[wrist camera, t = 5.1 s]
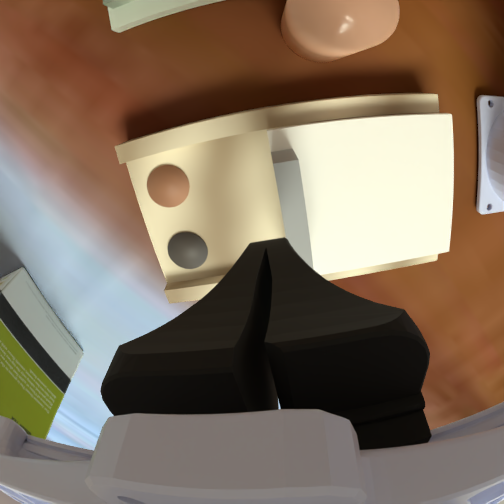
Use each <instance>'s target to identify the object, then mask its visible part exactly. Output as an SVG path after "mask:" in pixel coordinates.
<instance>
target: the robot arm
mask: <svg viewBox="0 0 504 504" xmlns="http://www.w3.org/2000/svg"><path fill="white" fill-rule="evenodd" d="M488 101H490V106H489V105H488ZM477 113H478V136H479V169H478V192H477V206H476V207H477V211H478V212H479V213H480V214H489V213H495V212H501V211H504V97H500V96H488V95H480V96H479V97H478V98H477ZM488 204H489V206H488V208H487V205H488ZM429 357H430V352H429V349H428V346H427V344H426V342H425V340H424V338H423V336H422V334H421V332H420V330H419V329H418V327H417V326H416V325H415V323H414V322H413V320H412V319H411V318H410V316H409V315H408V314H407V312H406V311H405V310H404V309H400V308H396V307H391V306H387V305H383V304H379V303H376V302H373V301H370V300H367V299H364V298H361V297H359V296H356V295H354V294H352V293H349V292H347V291H345V290H343V289H341V288H340V287H338V286H336V285H334V284H332V283H331V282H329V281H328V280H326V279H325V278H323V277H322V276H321V275H320V274H318V273H317V272H316V271H315V270H314V269H312V268H311V267H310V266H309V265H308V264H307V263H306V262H305V261H304V260H303V259H302V258H301V257H300V256H299V255H298V253H297V252H296V251H295V250H294V249H293V247H292V246H291V244H290V243H289V241H288V239H286V238H285V237H283V238H277V239H271V240H265V241H258V242H252V243H250V244H249V245H248V246H247V248H246V249H245V250H244V252H243V253H242V254H241V256H240V257H239V259H238V260H237V261H236V263H235V264H234V265H233V266H232V268H231V269H230V270H229V271H228V273H227V274H226V275H225V276H224V277H223V278H222V279H221V280H220V282H219V283H218V284H217V285H216V286H215V287H214V288H213V289H212V290H211V291H210V292H209V293H207V294H206V295H205V296H204V297H203V298H202V299H201V300H199V301H198V302H197V303H196V304H194V305H193V306H191V307H190V308H189V309H187V310H186V311H184V312H183V313H182V314H180V315H179V316H177V317H176V318H174V319H173V320H171V321H169V322H168V323H166V324H164V325H162V326H161V327H159V328H157V329H155V330H153V331H151V332H149V333H147V334H145V335H143V336H141V337H139V338H136V339H134V340H132V341H130V342H127V343H125V344H122V345H120V346H119V347H118V349H117V351H116V353H115V355H114V358H113V360H112V362H111V364H110V366H109V369H108V371H107V373H106V375H105V378H104V380H103V382H102V386H101V395H102V399H103V401H104V403H105V404H106V406H107V407H108V409H109V410H110V411H111V413H112V414H113V415H114V416H113V417H109V418H108V420H107V421H106V423H105V424H104V426H103V427H102V430H101V433H100V435H99V438H98V441H97V444H96V447H95V450H94V451H93V450H88V449H83V448H78V447H73V446H69V445H65V444H61V443H56V442H53V441H49V440H45V439H41V438H38V437H34V436H31V435H28V434H27V433H26V432H25V430H24V429H23V428H22V427H21V426H20V425H18V424H17V423H16V422H14V421H13V420H11V419H9V418H6V417H3V416H0V490H1V491H2V492H4V493H5V494H7V495H8V496H10V497H11V498H13V499H14V500H16V501H18V502H20V503H22V504H497V503H499V502H501V501H503V500H504V402H502V403H500V404H498V405H496V406H493V407H491V408H489V409H486V410H484V411H482V412H479V413H477V414H474V415H472V416H469V417H467V418H464V419H461V420H459V421H456V422H453V423H450V424H448V425H445V426H442V427H439V428H436V429H433V430H430V429H429V426H428V423H427V420H426V417H425V414H424V411H423V409H424V407H425V401H424V398H423V395H422V393H421V389H422V385H423V382H424V379H425V376H426V372H427V369H428V365H429ZM278 399H279V403H280V407H281V409H278Z"/></svg>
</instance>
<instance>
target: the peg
mask: <svg viewBox="0 0 504 504" xmlns="http://www.w3.org/2000/svg"><path fill="white" fill-rule="evenodd" d="M398 20H399V3H398V0H287V2H286V5H285V9H284V12H283V15H282V19H281V33H282V36H283V39H284V41H285V42H286V44H287V46H288V47H289V48H290V49H291V50H292V51H293V52H294V53H296V54H297V55H298V56H300V57H302V58H304V59H306V60H309V61H313V62H320V63H326V62H332V61H335V60H338V59H340V58H343V57H346V56H348V55H351V54H354V53H356V52H359V51H362V50H365V49H368V48H371V47H373V46H376V45H378V44H380V43H382V42H384V41H385V40H386V39H388V38H389V37H390V36H391V35H392V33H393V32H394V30H395V28H396V26H397V24H398Z"/></svg>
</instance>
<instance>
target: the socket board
mask: <svg viewBox="0 0 504 504" xmlns="http://www.w3.org/2000/svg"><path fill="white" fill-rule="evenodd" d="M220 1H224V0H103V4H104V5H105V6H108V12H109V18H110V23H111V29H112V31H115V32H118V33H120V32H122V31H125V30H127V29H130V28H133V27H135V26H138V25H141V24H143V23H146V22H149V21H152V20H155V19H158V18H161V17H164V16H167V15H170V14H174V13H177V12H180V11H184V10H187V9H191V8H195V7H199V6H203V5H207V4H211V3H215V2H220Z"/></svg>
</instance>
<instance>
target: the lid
mask: <svg viewBox="0 0 504 504" xmlns="http://www.w3.org/2000/svg"><path fill="white" fill-rule="evenodd" d="M267 135H268V140H269V145H270V150H271V156H272V161H273V167H274V172H275V178H276V183H277V189H278V195H279V200H280V206H281V212H282V218H283V223H284V229H285V235H286V239H288V241H289V243H290V244H291V246H292V247H293V249H294V250H295V251H296V252H297V253H298V255H299V256H300V257H301V258H302V259H303V260H304V261H305V262H306V263H307V264H308V265H309V266H310V267H311V268H312V269H314V270H315V271H316V272H317V273H318V274H320V275H324V274H330V273H336V272H342V271H347V270H353V269H359V268H365V267H370V266H376V265H381V264H387V263H392V262H397V261H403V260H408V259H413V258H419V257H424V256H429V255H434V254H439V253H444V252H449V245H450V235H451V223H452V208H453V183H454V150H453V125H452V114H448V113H428V114H402V115H385V116H372V117H360V118H349V119H340V120H331V121H323V122H315V123H308V124H300V125H294V126H287V127H281V128H275V129H269V130H267Z"/></svg>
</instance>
